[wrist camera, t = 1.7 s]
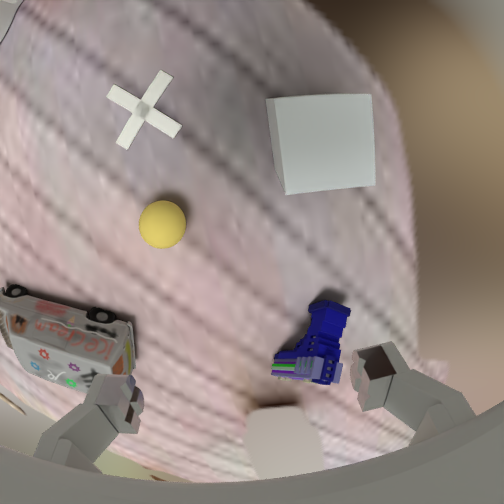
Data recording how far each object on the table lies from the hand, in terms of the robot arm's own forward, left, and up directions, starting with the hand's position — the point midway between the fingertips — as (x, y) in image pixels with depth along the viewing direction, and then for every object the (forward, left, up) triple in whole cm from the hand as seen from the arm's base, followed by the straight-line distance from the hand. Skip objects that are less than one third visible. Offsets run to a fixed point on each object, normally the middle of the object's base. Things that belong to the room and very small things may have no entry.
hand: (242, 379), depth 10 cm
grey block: (-5, +7, -24) cm, 26 cm away
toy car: (+16, -31, -25) cm, 43 cm away
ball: (+2, -9, -22) cm, 23 cm away
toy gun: (+22, +5, -25) cm, 33 cm away
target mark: (-10, -9, -24) cm, 27 cm away
